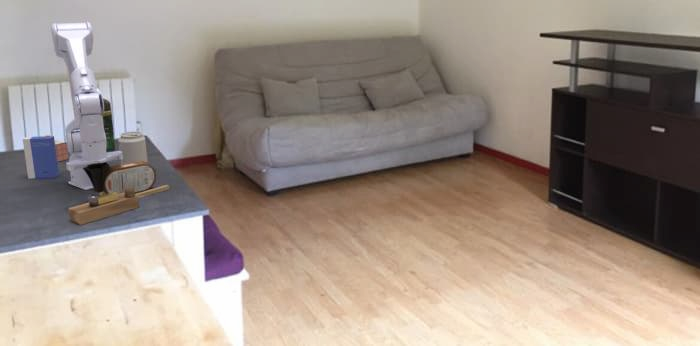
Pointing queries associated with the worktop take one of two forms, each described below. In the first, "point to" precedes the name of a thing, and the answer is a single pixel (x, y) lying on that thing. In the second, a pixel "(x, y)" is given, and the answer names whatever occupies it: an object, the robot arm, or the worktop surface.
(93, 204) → the brass lever
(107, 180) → the tin
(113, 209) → the wooden block with knobs
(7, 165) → the worktop surface
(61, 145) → the puzzle toy
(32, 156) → the walkman
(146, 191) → the oak guide strips
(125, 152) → the can
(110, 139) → the coffee jar
